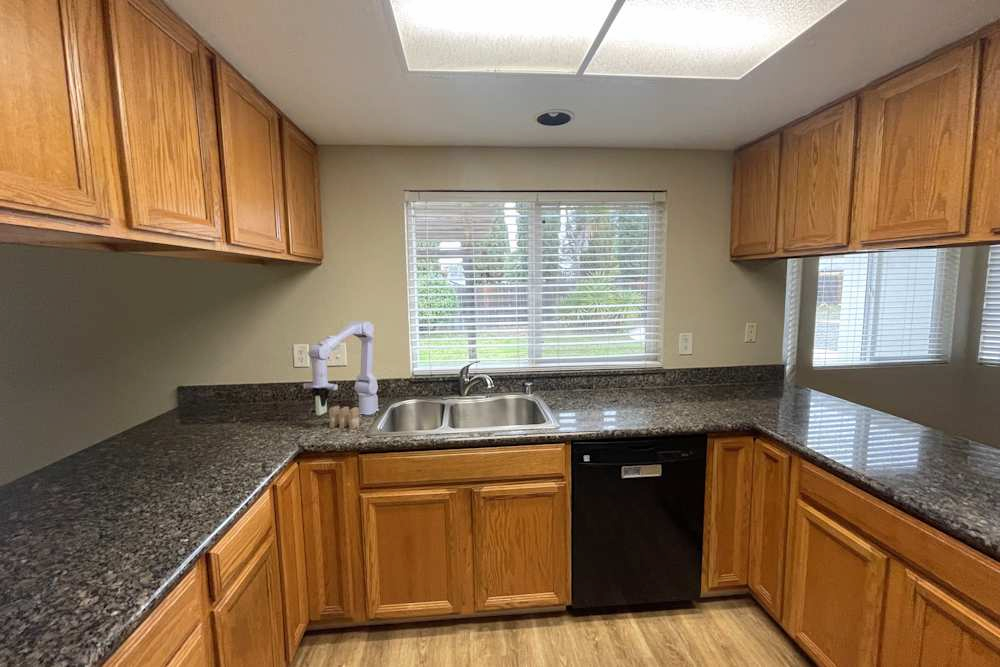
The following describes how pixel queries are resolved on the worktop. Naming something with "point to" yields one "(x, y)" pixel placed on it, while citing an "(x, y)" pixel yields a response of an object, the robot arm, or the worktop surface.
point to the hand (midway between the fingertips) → (321, 405)
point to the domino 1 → (320, 408)
